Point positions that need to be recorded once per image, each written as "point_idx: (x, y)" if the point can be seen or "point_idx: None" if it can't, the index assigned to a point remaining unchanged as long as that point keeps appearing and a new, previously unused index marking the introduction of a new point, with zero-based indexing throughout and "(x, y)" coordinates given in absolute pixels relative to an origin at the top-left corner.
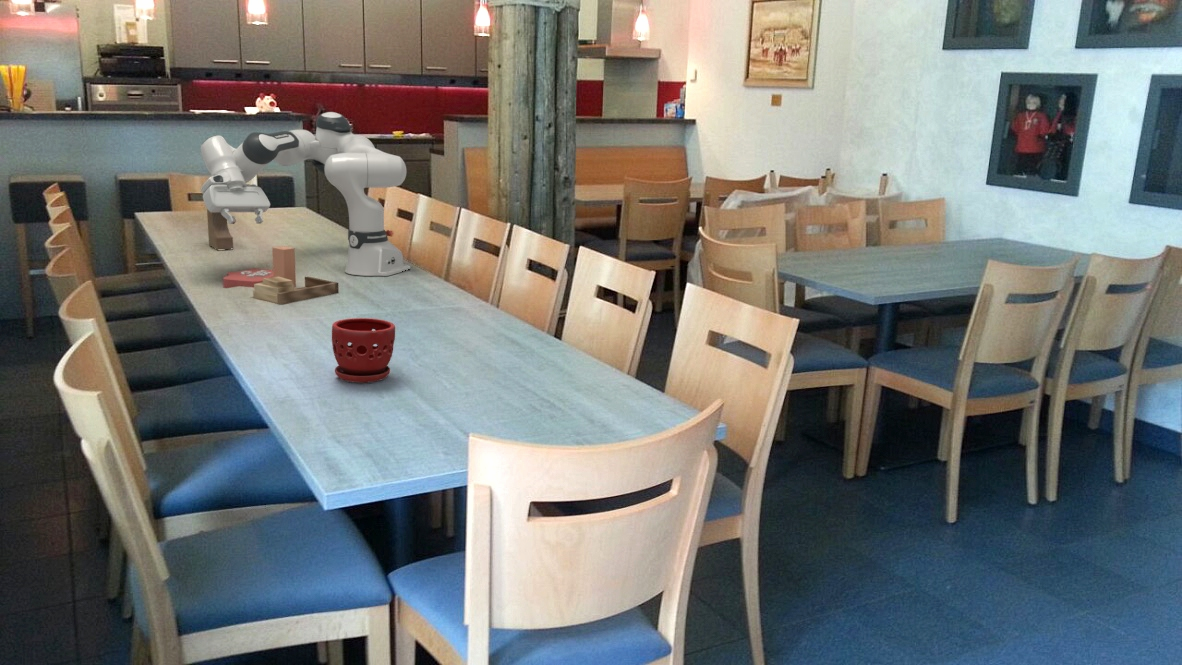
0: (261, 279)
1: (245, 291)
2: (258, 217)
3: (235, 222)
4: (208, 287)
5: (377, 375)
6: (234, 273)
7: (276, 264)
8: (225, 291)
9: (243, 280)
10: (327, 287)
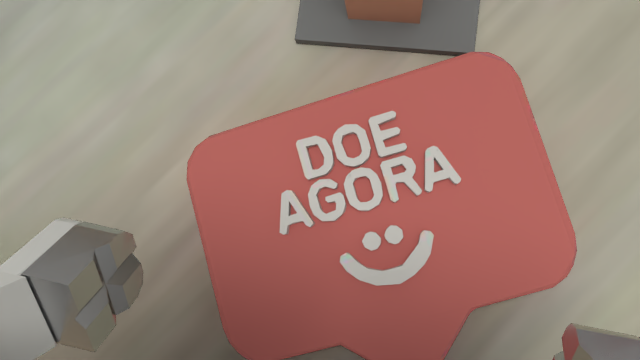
0: (448, 72)
1: (549, 100)
2: (82, 262)
3: (564, 336)
4: None
5: None
6: (421, 322)
7: None
8: (621, 181)
9: (535, 131)
10: None
